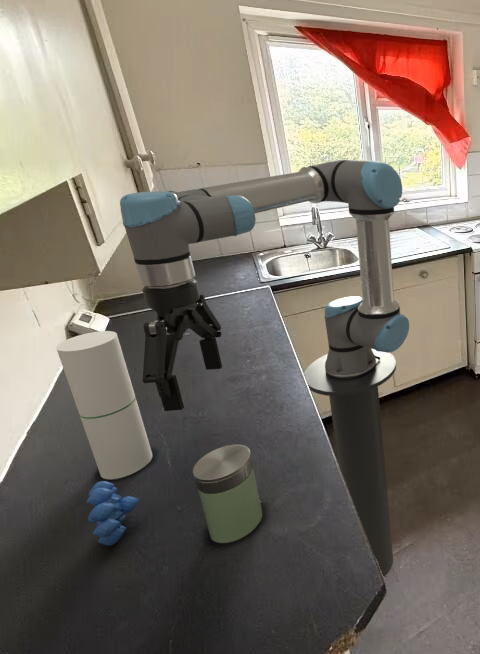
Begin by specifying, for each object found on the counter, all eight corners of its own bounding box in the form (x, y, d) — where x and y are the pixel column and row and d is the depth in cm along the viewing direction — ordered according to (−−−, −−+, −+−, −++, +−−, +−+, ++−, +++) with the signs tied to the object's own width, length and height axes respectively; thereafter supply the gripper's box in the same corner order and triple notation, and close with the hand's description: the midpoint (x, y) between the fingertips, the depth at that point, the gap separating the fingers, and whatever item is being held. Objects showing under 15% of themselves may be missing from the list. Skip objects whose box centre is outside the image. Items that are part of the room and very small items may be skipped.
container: (93, 468, 91) (49, 343, 81) (143, 445, 98) (107, 327, 88) (109, 485, 86) (64, 355, 77) (159, 459, 93) (124, 337, 84)
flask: (260, 497, 84) (248, 441, 80) (264, 528, 78) (252, 469, 74) (209, 517, 80) (194, 459, 76) (209, 551, 73) (193, 490, 69)
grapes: (149, 546, 74) (132, 492, 70) (96, 571, 70) (75, 515, 66) (145, 505, 82) (130, 454, 78) (98, 525, 78) (79, 472, 74)
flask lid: (251, 451, 81) (248, 438, 80) (254, 480, 74) (252, 466, 73) (197, 469, 76) (193, 456, 75) (195, 501, 70) (191, 487, 69)
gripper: (186, 262, 85) (208, 355, 91) (88, 311, 61) (127, 432, 68) (227, 261, 86) (246, 353, 92) (146, 309, 62) (179, 428, 69)
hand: (195, 387), depth 80 cm, fingers open, 13 cm apart
